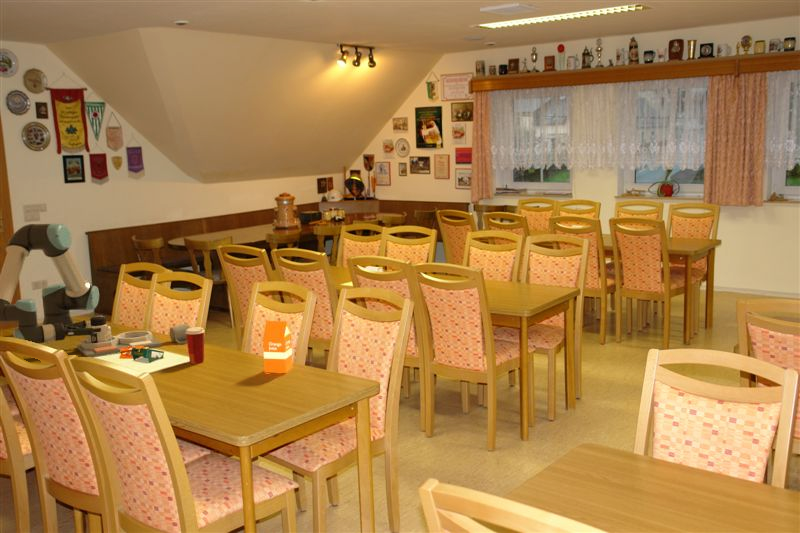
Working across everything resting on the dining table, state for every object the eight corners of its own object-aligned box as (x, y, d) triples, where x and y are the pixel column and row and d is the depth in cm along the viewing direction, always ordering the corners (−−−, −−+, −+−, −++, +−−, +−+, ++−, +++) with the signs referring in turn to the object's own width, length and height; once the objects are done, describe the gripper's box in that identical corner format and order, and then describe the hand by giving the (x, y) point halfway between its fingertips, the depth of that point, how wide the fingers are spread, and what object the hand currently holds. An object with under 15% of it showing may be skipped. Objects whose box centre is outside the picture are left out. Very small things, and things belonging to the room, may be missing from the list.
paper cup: (209, 359, 322) (207, 326, 320) (202, 364, 314) (200, 331, 312) (191, 359, 323) (188, 326, 321) (184, 364, 315) (181, 331, 313)
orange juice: (286, 374, 298) (283, 323, 295) (264, 373, 300) (261, 323, 297) (292, 368, 306) (290, 319, 303) (271, 367, 307) (269, 318, 304)
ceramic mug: (169, 340, 356) (168, 324, 355) (186, 338, 360) (185, 322, 359) (175, 346, 347) (174, 329, 346) (193, 343, 351) (192, 326, 350)
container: (105, 347, 341) (103, 318, 339) (88, 347, 341) (85, 318, 339) (112, 342, 349) (109, 314, 347) (95, 343, 349) (92, 315, 347)
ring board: (77, 347, 348) (76, 339, 347) (148, 337, 365) (148, 328, 364) (87, 358, 329) (86, 348, 329) (162, 346, 346) (161, 337, 346)
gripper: (49, 335, 345) (99, 328, 356) (59, 346, 324) (111, 339, 335) (48, 319, 344) (97, 312, 355) (57, 329, 323) (110, 322, 334)
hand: (104, 325), depth 345 cm, fingers open, 13 cm apart
